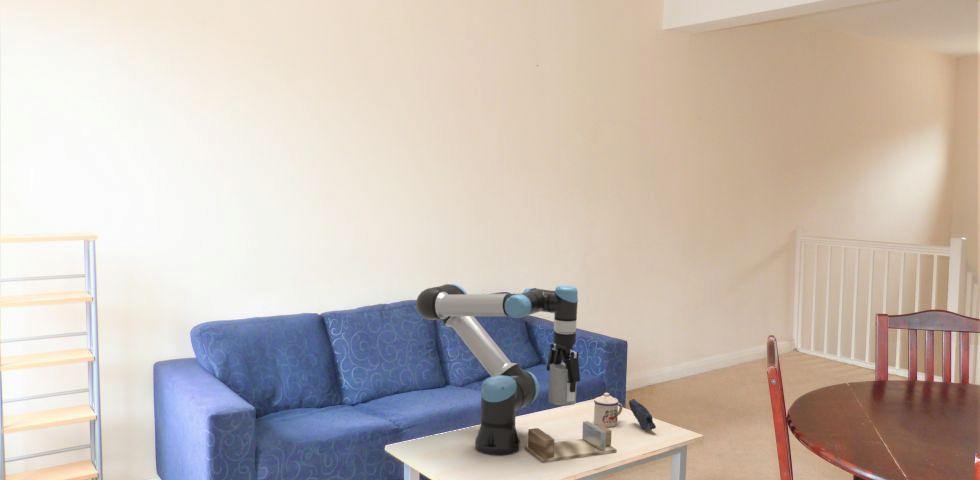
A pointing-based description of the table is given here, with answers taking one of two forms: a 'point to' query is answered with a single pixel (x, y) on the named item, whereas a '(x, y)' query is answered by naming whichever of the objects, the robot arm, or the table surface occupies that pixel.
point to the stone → (642, 415)
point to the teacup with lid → (606, 410)
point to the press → (560, 447)
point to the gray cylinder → (559, 385)
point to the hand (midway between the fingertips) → (562, 396)
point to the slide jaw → (596, 435)
